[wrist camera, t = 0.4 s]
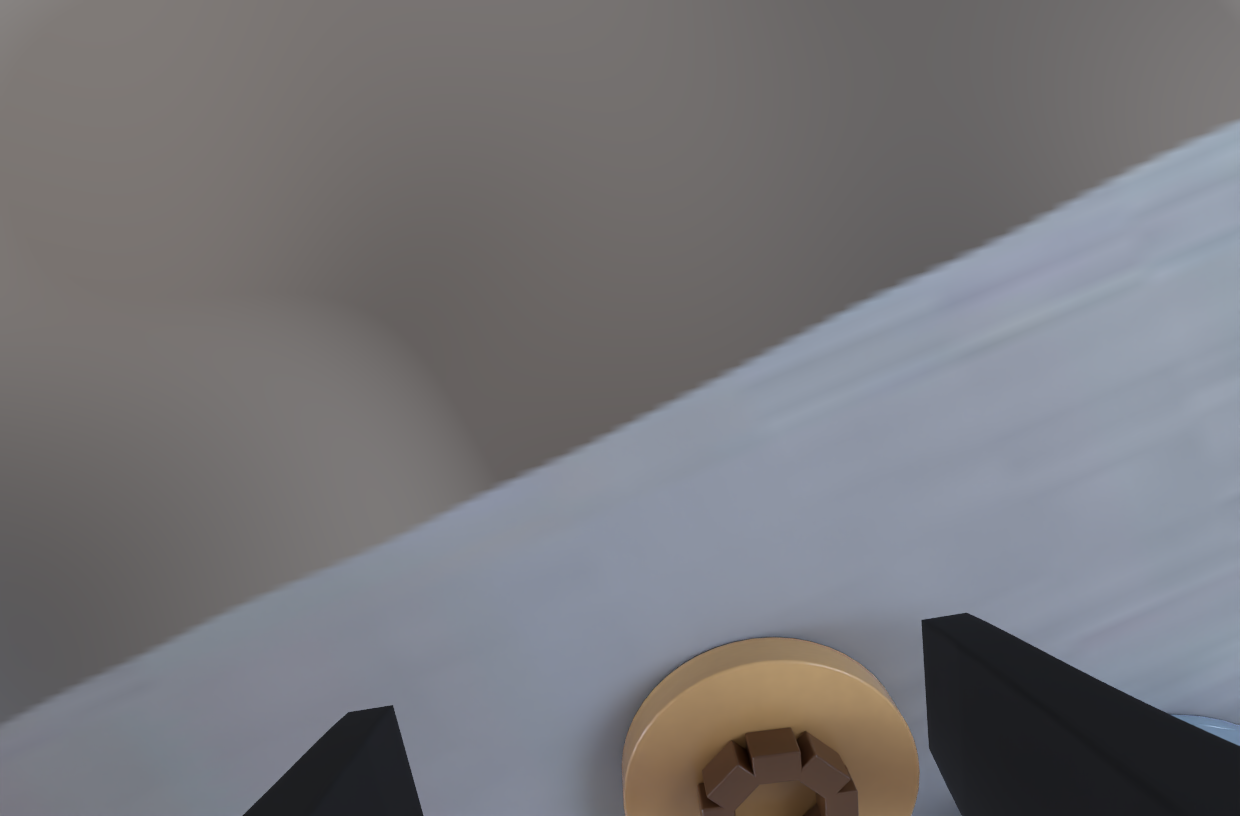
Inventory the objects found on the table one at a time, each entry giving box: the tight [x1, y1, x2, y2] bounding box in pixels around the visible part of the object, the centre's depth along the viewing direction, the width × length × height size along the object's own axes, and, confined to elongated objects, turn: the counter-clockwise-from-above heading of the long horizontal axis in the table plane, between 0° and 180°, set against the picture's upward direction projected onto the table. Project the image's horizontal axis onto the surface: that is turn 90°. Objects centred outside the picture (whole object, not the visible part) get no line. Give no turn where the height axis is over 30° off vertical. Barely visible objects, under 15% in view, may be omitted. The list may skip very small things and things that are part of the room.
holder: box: [622, 637, 920, 816], centre depth 21 cm, size 8×8×2 cm
